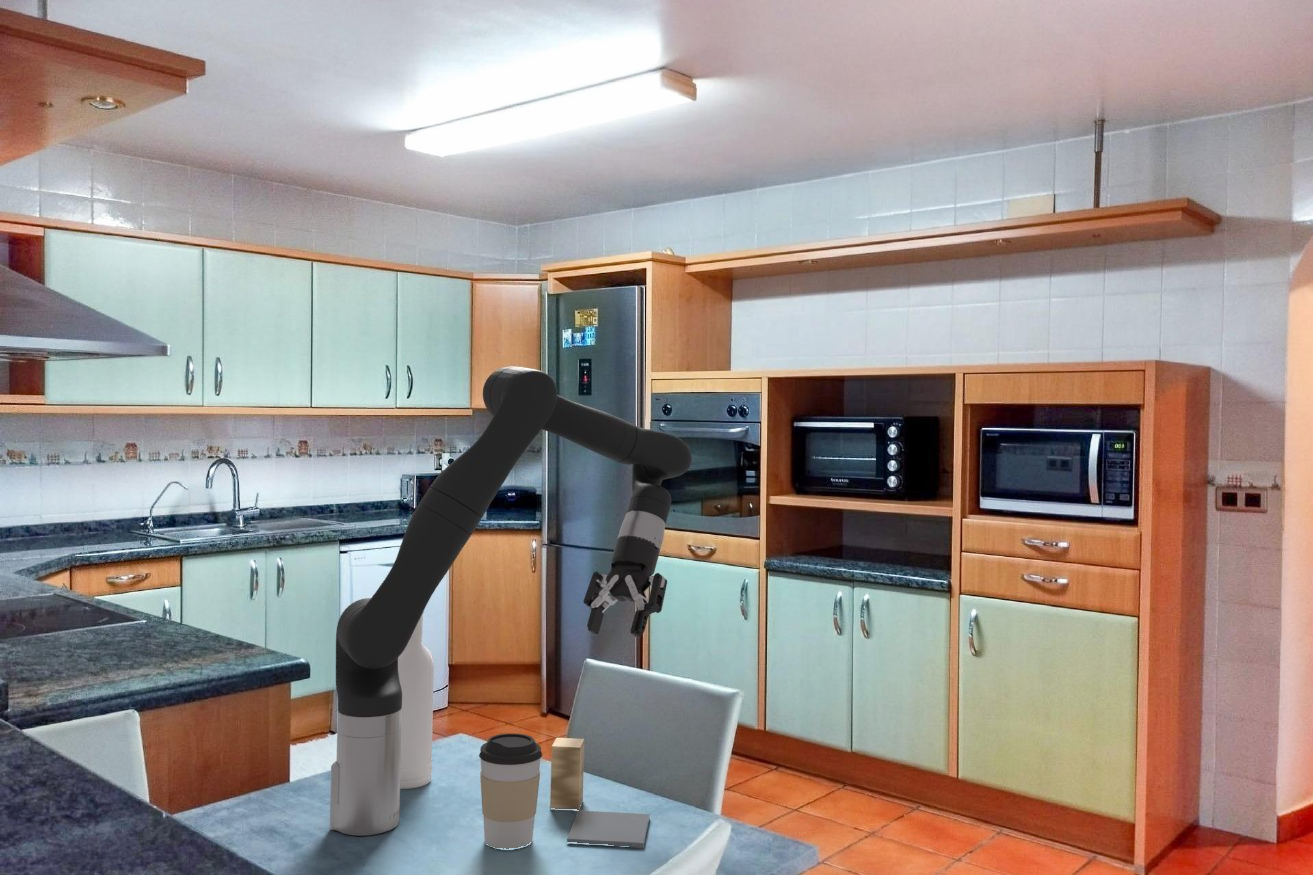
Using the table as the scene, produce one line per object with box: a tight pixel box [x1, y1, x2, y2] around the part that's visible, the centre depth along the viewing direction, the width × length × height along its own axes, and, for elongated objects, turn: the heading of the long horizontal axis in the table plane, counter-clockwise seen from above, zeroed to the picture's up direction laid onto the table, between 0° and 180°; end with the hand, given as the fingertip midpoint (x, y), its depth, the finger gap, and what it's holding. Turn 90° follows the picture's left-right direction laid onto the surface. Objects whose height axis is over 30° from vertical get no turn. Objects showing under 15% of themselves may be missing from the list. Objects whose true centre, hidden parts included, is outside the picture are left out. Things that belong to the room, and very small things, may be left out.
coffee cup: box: [478, 732, 543, 849], centre depth 147 cm, size 9×9×15 cm
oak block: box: [549, 737, 585, 810], centre depth 161 cm, size 4×4×10 cm
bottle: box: [398, 610, 435, 790], centre depth 170 cm, size 8×8×30 cm
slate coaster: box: [566, 809, 650, 849], centre depth 151 cm, size 11×11×1 cm
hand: (613, 633), depth 165 cm, fingers open, 8 cm apart
